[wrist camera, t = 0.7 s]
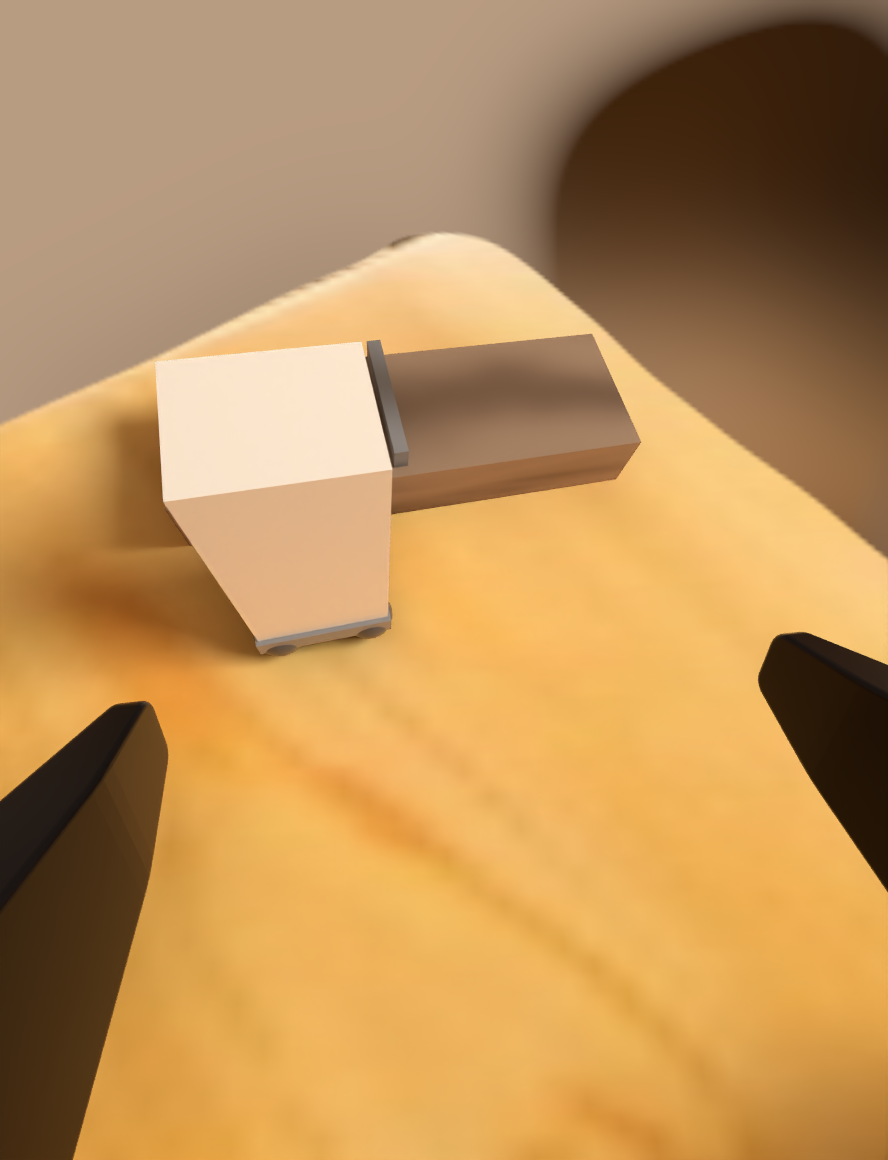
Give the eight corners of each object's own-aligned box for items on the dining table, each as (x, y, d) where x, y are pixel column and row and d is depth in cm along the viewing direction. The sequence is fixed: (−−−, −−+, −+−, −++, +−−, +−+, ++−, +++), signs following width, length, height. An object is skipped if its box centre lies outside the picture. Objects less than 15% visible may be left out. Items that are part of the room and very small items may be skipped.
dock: (616, 478, 28) (650, 427, 25) (189, 545, 24) (156, 496, 21) (573, 377, 31) (599, 317, 27) (180, 422, 27) (149, 360, 23)
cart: (396, 639, 24) (408, 482, 13) (261, 666, 23) (148, 520, 12) (374, 541, 25) (369, 329, 14) (249, 562, 24) (141, 350, 13)
